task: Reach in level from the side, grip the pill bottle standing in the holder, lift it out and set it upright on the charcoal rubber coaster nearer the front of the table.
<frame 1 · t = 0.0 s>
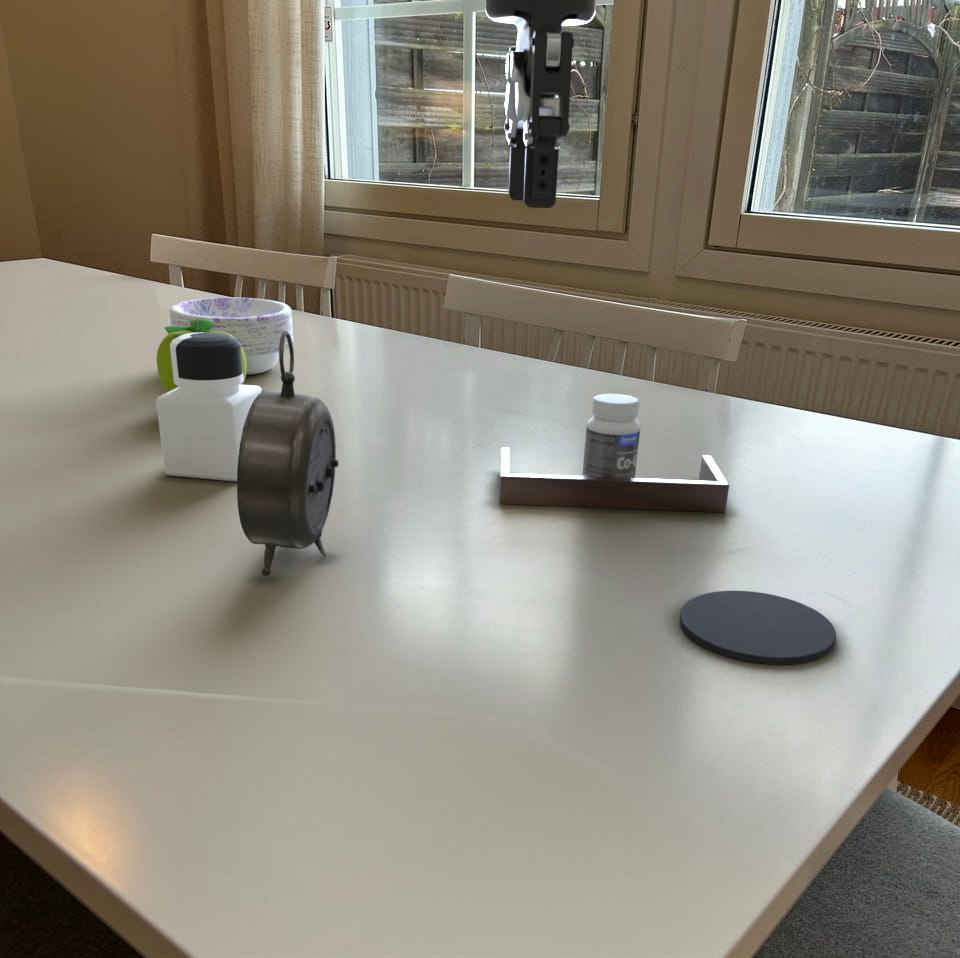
hand: (530, 203, 73), 24 cm above the table, tool pointing down, fingers open, 8 cm apart
fruit: (206, 414, 109), on the table
coaster: (755, 628, 65), on the table
holder: (607, 490, 89), on the table
pill bottle: (607, 492, 89), on the table
white round bowl: (236, 370, 129), on the table
medicine bottle: (217, 470, 92), on the table
alarm clock: (297, 557, 74), on the table
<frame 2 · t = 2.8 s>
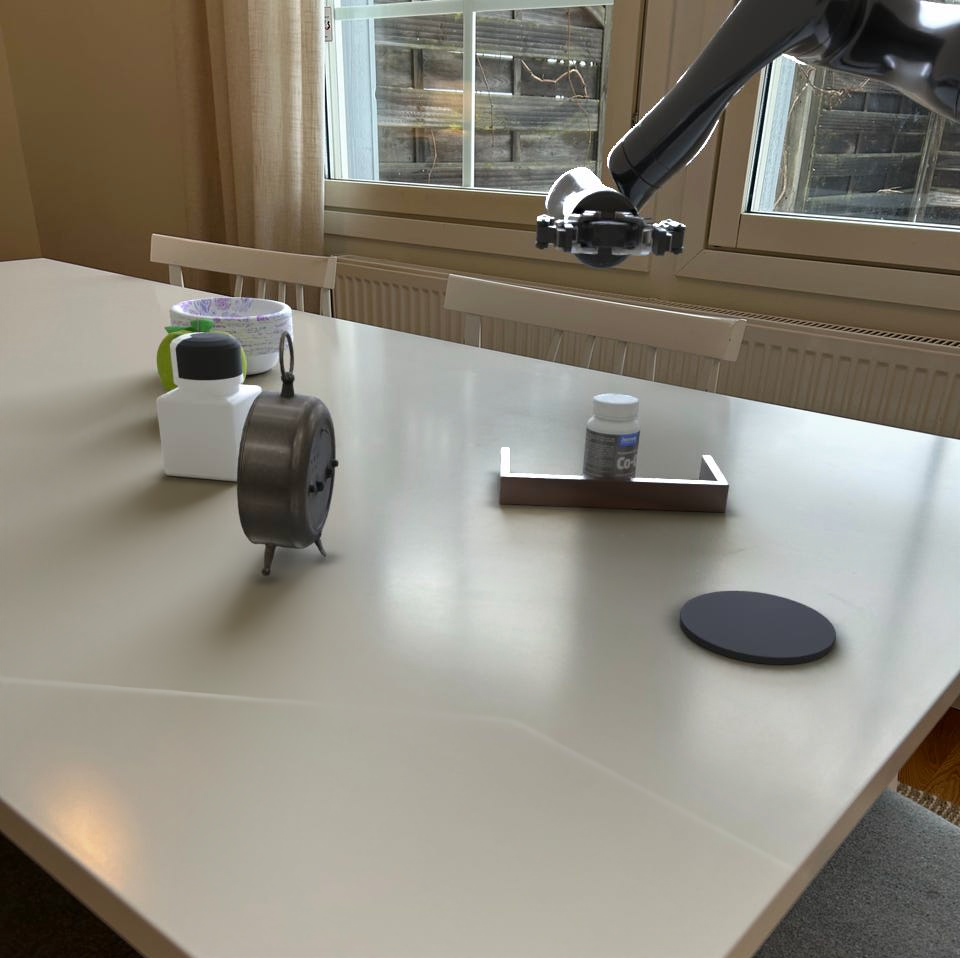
hand: (615, 241, 90), 20 cm above the table, tool horizontal, fingers open, 8 cm apart
nothing on the table moved.
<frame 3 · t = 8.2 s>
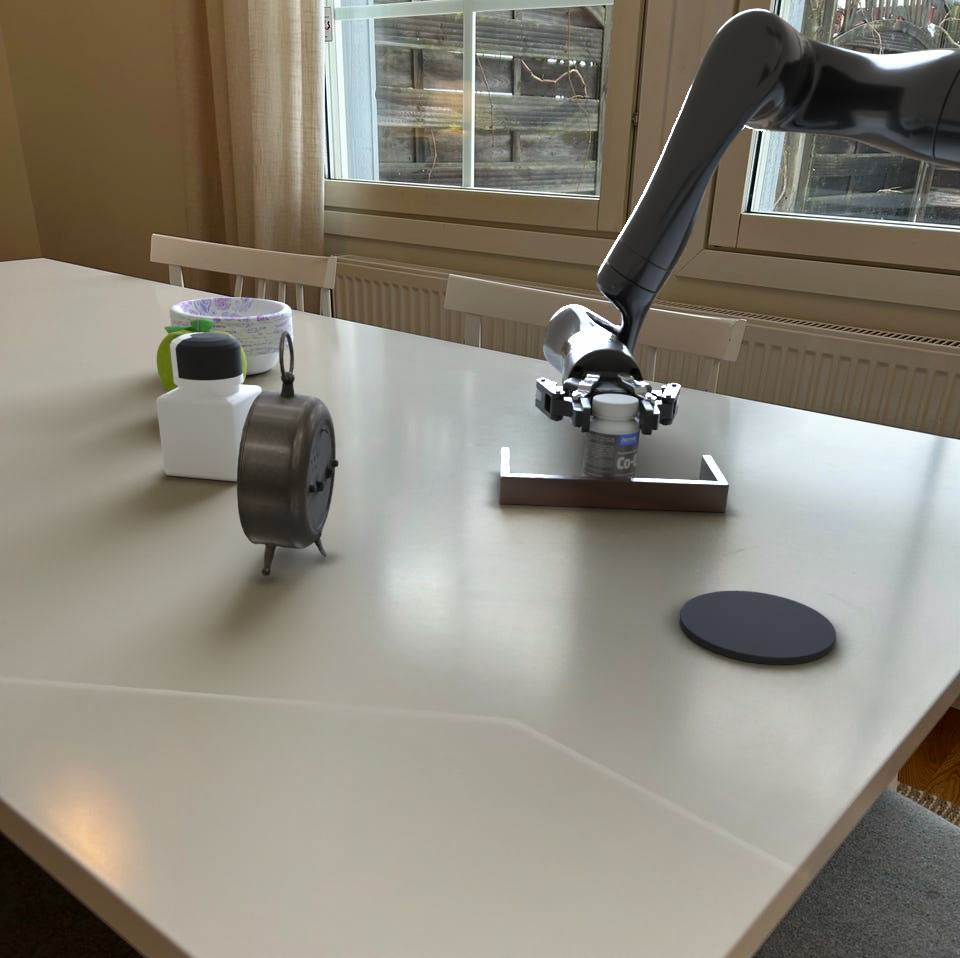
hand: (617, 422, 84), 7 cm above the table, tool horizontal, fingers closed on pill bottle, 4 cm apart
pill bottle: (607, 492, 89), on the table, touching gripper
everything else where it was.
when the fingers open (8 cm above the table, at t = 18.5 s): pill bottle stays where it is, resting on coaster.
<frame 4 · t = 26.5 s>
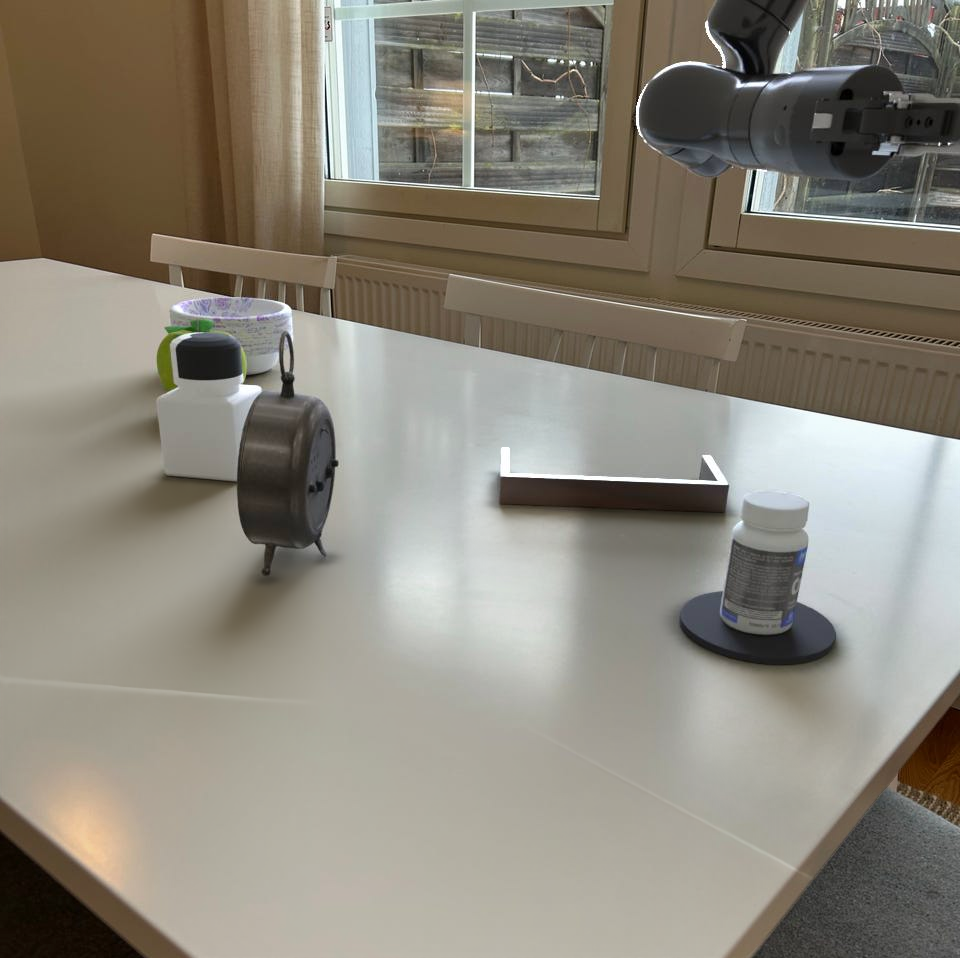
pill bottle: (754, 623, 65), resting on coaster
everything else where it was.
at the end: pill bottle 0.2 cm off-centre on the coaster, point 0.3 cm above the coaster's base; pill bottle tilted 0°; pill bottle touching coaster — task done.
